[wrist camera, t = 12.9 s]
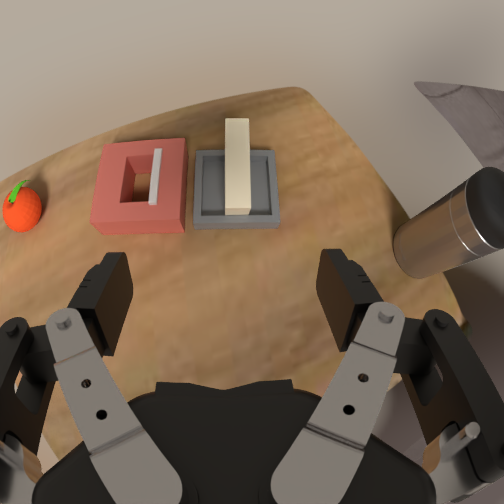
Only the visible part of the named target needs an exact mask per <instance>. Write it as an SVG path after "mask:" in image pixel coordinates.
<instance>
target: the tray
mask: <svg viewBox="0 0 504 504" xmlns="http://www.w3.org/2000/svg"><path fill="white" fill-rule="evenodd" d="M250 183H251V210H250V212H249V215H225V150H196V163H195V184H194V211H193V225H194V228H195V229H268V228H278V226H279V224H280V211H279V199H278V186H277V175H276V163H275V152H274V150H250Z"/></svg>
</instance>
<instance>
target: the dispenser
mask: <svg viewBox="0 0 504 504" xmlns="http://www.w3.org/2000/svg"><path fill="white" fill-rule="evenodd" d="M187 169H188V153H187V147H186V141H185V138H172V139H156V140H143V141H132V142H122V143H113V144H104V147H103V151H102V156H101V160H100V165H99V170H98V175H97V180H96V185H95V191H94V197H93V203H92V209H91V216H90V224H92V225H93V226H94V227H95V228H96V229H97V230H98V231H99V232H101V233H102V234H103V235H113V234H145V233H185V207H186V186H187ZM142 173H151V182H150V192H149V201H147V202H132V197H133V189H134V181H135V174H142Z"/></svg>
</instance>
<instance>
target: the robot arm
mask: <svg viewBox="0 0 504 504" xmlns="http://www.w3.org/2000/svg"><path fill="white" fill-rule="evenodd" d="M393 247H394V254H395V257H396V260H397V262H398V264H399V265H400V267H401V268H402V269H403V271H404V272H405V273H407V274H408V275H409V276H412V277H414V278H425V277H428V276H431V275H434V274H437V273H440V272H443V271H445V270H448V269H451V268H454V267H457V266H460V265H462V264H465V263H468V262H471V261H473V260H476V259H478V258H481V257H484V256H486V255H488V254H491V253H493V252H496V251H498V250H501V249H503V248H504V172H503V171H501V170H499V169H497V168H494V167H485V168H483V169H481V170H479V171H478V172H476V173H475V174H474V175H472V176H471V177H470V178H468V179H467V180H466V181H464V182H463V183H462V184H460V185H459V186H458V187H456V188H455V189H453V190H452V191H451V192H449V193H448V194H447V195H445V196H444V197H442V198H441V199H440V200H438V201H437V202H435V203H434V204H432V205H431V206H429V207H428V208H427V209H425V210H424V211H422V212H421V213H419V214H418V215H416V216H415V217H413V218H412V219H410V220H409V221H407V222H406V223H404V224H403V225H401V226H400V227H399V228H398V230H397V231H396V233H395V236H394V242H393ZM316 290H317V295H318V297H319V300H320V302H321V305H322V308H323V310H324V313H325V315H326V318H327V320H328V323H329V325H330V328H331V331H332V333H333V336H334V338H335V341H336V344H337V346H338V349H339V352H344V351H347V352H346V354H345V356H344V358H343V360H342V362H341V364H340V366H339V368H338V369H337V371H336V373H335V375H334V377H333V379H332V381H331V383H330V384H329V386H328V388H327V390H326V392H325V394H324V395H323V397H320V396H318V395H316V394H313V393H311V392H308V391H304V390H300V389H293V384H292V380H291V379H287V380H275V381H259V382H255V383H251V384H247V385H244V386H240V387H236V388H232V389H227V390H219V389H214V388H209V387H205V386H200V385H196V384H191V383H170V382H156V389H155V392H150V393H146V394H143V395H141V396H138V397H136V398H134V399H132V400H130V401H129V402H126V400H125V399H124V397H123V395H122V394H121V392H120V390H119V389H118V387H117V385H116V384H115V382H114V380H113V378H112V376H111V375H110V373H109V371H108V369H107V367H106V366H105V364H104V362H103V360H102V357H103V356H114V352H115V349H116V346H117V342H118V339H119V336H120V333H121V330H122V327H123V324H124V321H125V318H126V315H127V312H128V309H129V306H130V303H131V300H132V297H133V283H132V279H131V274H130V270H129V265H128V260H127V256H126V254H125V253H124V252H108V253H106V255H105V256H104V258H103V260H102V262H101V263H100V264H96V265H95V266H94V267H93V268H91V269H90V270H89V271H88V272H87V274H86V275H85V277H84V279H83V281H82V282H81V284H80V285H79V288H78V289H77V291H76V292H75V294H74V296H73V298H72V299H71V301H70V303H69V305H68V307H67V308H64V309H60V310H58V311H56V312H54V313H53V314H52V315H51V316H50V317H49V318H48V320H47V322H46V325H41V326H36V327H31V328H30V327H29V325H28V323H27V321H26V320H25V319H24V318H22V317H15V318H12V319H10V320H8V321H6V322H5V323H4V324H3V325H2V326H1V328H0V504H445V503H447V502H449V501H450V502H454V503H455V502H460V501H462V500H464V499H466V498H468V497H470V496H472V495H473V494H475V493H477V492H479V491H480V490H482V489H484V488H486V487H487V486H489V485H491V484H492V483H494V482H495V481H497V480H498V479H500V478H501V477H503V476H504V403H503V401H502V399H501V397H500V395H499V393H498V391H497V389H496V387H495V386H494V384H493V382H492V380H491V378H490V376H489V375H488V373H487V371H486V369H485V368H484V366H483V364H482V362H481V361H480V359H479V358H478V356H477V354H476V352H475V351H474V349H473V348H472V346H471V344H470V343H469V341H468V340H467V338H466V336H465V335H464V333H463V332H462V330H461V329H460V327H459V326H458V324H457V323H456V321H455V320H454V318H453V317H452V316H451V315H449V314H448V313H446V312H444V311H442V310H438V309H432V310H429V311H427V312H426V314H425V316H424V318H423V320H420V319H413V318H406V317H405V316H404V314H403V312H402V311H401V310H400V309H399V308H398V307H397V306H395V305H393V304H391V303H387V302H384V301H383V299H382V298H381V296H380V295H379V293H378V291H377V290H376V288H375V287H374V285H373V284H372V282H371V281H370V279H369V277H368V276H367V274H366V273H365V271H364V270H363V268H362V267H361V266H360V265H358V264H357V263H356V262H354V261H353V260H348V259H347V257H346V256H345V254H344V253H343V251H342V250H341V249H323V250H322V252H321V256H320V263H319V268H318V274H317V280H316ZM436 364H437V365H438V367H439V369H440V370H441V372H442V375H443V382H442V380H441V378H440V376H439V374H438V372H437V370H436V368H435V365H436ZM19 370H20V371H21V373H22V374H23V375H22V378H21V381H20V383H19V386H18V389H17V392H16V394H15V390H14V384H15V381H16V378H17V375H18V373H19ZM393 373H400V374H401V377H402V379H403V382H404V384H405V387H406V389H407V392H408V394H409V397H410V399H411V402H412V404H413V407H414V410H415V413H416V415H417V418H418V420H419V423H420V426H421V429H422V432H423V435H424V438H425V441H426V443H427V447H426V448H425V450H424V453H423V464H422V467H421V466H419V465H418V464H416V463H415V462H413V461H412V460H410V459H409V458H407V457H406V456H404V455H403V454H401V453H400V452H398V451H397V450H395V449H393V448H392V447H391V446H389V445H388V444H386V443H385V442H383V441H382V440H380V439H379V438H377V437H376V436H375V435H373V434H372V433H371V432H372V429H373V427H374V424H375V422H376V419H377V417H378V414H379V412H380V409H381V406H382V403H383V400H384V398H385V395H386V392H387V389H388V386H389V383H390V380H391V377H392V374H393ZM58 380H59V383H60V386H61V389H62V391H63V394H64V396H65V399H66V402H67V404H68V407H69V409H70V411H71V414H72V416H73V418H74V421H75V423H76V425H77V428H78V430H79V432H80V434H81V436H82V438H83V441H82V442H81V443H80V444H79V445H78V446H76V447H75V448H74V449H73V450H72V451H71V452H69V453H68V454H67V455H66V456H65V457H64V458H62V459H61V460H60V461H59V462H58V463H57V464H55V465H54V466H53V467H52V468H51V469H49V470H48V471H47V472H46V473H45V474H44V475H43V473H42V472H41V464H40V461H39V459H38V458H37V452H38V447H39V442H40V437H41V433H42V429H43V425H44V421H45V417H46V413H47V409H48V406H49V402H50V399H51V395H52V392H53V388H54V385H55V382H56V381H58Z"/></svg>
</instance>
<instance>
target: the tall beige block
mask: <svg viewBox="0 0 504 504" xmlns="http://www.w3.org/2000/svg"><path fill="white" fill-rule="evenodd" d="M250 210H251V183H250V141H249V119H248V118H225V215H249V212H250Z"/></svg>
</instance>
